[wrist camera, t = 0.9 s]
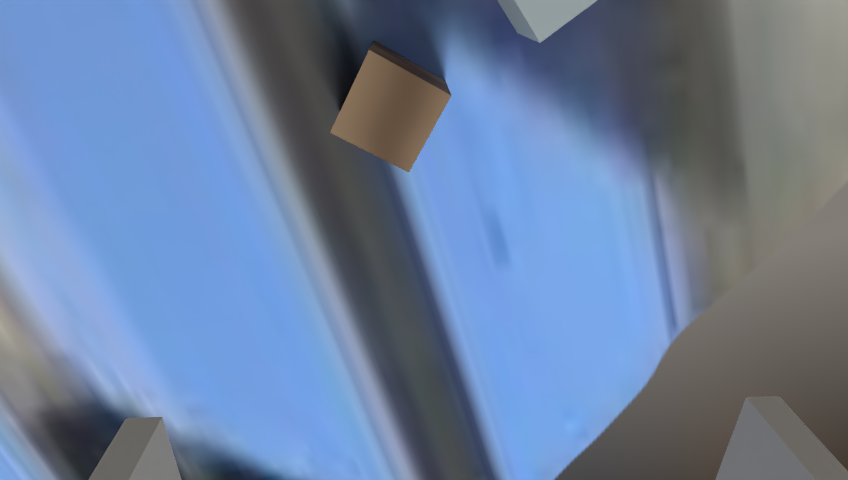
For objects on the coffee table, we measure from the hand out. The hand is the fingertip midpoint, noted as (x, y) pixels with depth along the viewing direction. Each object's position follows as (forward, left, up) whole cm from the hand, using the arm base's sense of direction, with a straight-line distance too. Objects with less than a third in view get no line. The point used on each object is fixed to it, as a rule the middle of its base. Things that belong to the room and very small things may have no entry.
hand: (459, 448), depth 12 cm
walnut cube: (-4, +1, -25) cm, 26 cm away
